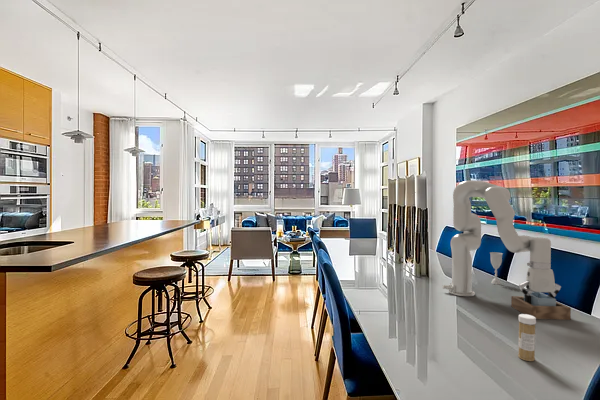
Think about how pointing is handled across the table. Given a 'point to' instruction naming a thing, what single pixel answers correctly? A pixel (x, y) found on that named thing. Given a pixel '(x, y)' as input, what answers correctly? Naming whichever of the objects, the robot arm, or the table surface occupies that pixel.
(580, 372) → the table surface
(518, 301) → the walnut crate
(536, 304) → the block
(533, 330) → the pill bottle
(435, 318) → the table surface
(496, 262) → the chalice
